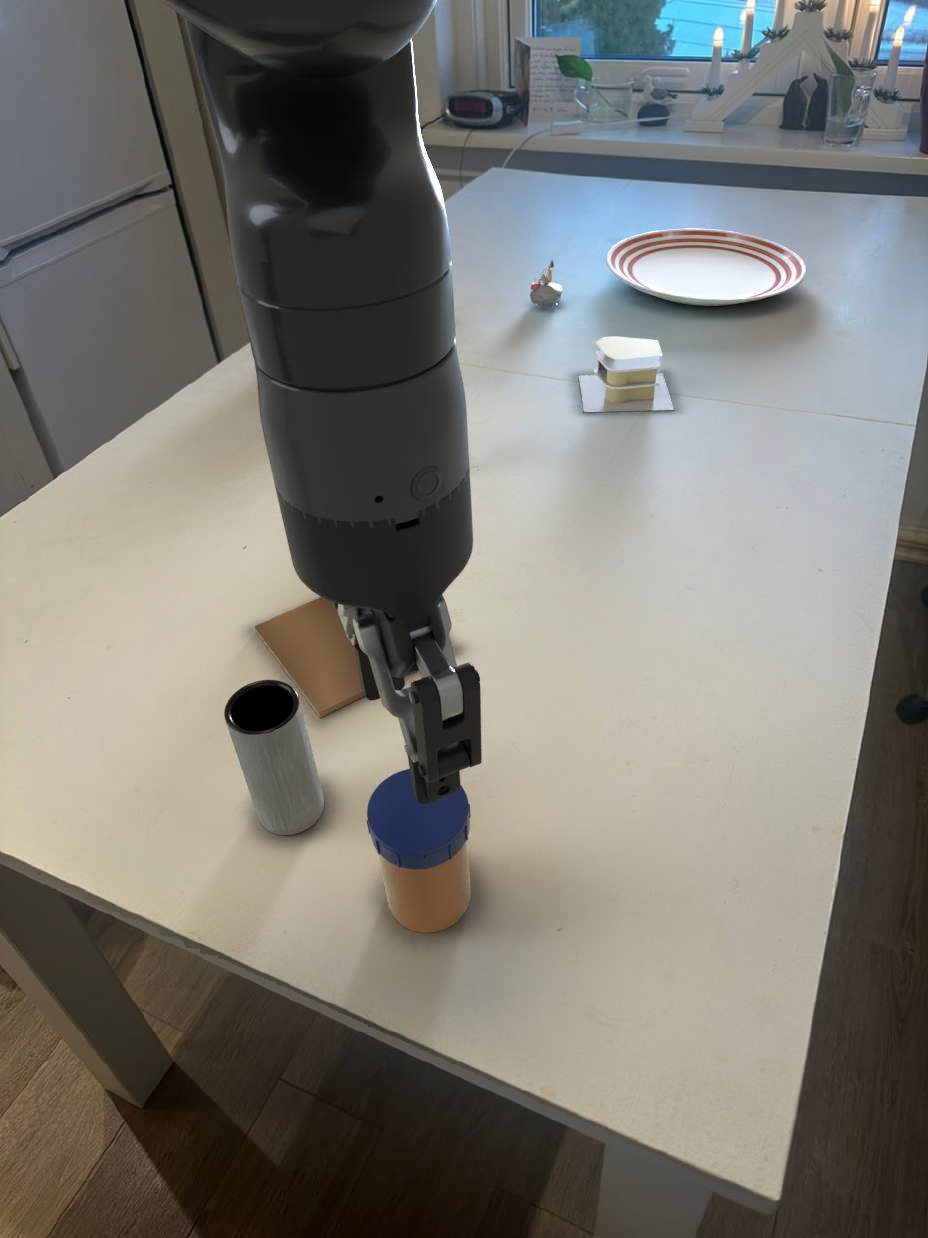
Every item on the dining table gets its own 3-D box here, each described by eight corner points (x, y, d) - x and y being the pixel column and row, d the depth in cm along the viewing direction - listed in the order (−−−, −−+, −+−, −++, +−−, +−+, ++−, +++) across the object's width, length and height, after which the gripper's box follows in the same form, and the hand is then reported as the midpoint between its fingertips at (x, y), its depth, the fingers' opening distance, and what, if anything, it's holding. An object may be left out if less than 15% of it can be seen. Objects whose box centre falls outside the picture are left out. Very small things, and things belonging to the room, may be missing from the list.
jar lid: (390, 885, 47) (387, 867, 45) (357, 807, 50) (353, 788, 49) (486, 846, 48) (485, 827, 47) (446, 773, 52) (444, 754, 51)
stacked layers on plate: (662, 373, 104) (667, 328, 101) (673, 410, 98) (679, 363, 94) (578, 375, 105) (580, 331, 101) (584, 412, 98) (586, 366, 94)
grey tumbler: (326, 830, 58) (300, 727, 51) (257, 841, 58) (222, 739, 51) (323, 776, 61) (298, 673, 54) (258, 787, 61) (224, 684, 54)
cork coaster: (320, 718, 65) (318, 713, 65) (255, 631, 73) (253, 625, 73) (453, 652, 70) (453, 646, 70) (379, 576, 78) (378, 571, 77)
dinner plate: (783, 247, 133) (788, 224, 131) (821, 321, 113) (827, 295, 111) (602, 249, 136) (603, 226, 134) (607, 321, 116) (608, 297, 114)
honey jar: (405, 947, 52) (390, 867, 46) (375, 876, 55) (359, 794, 50) (484, 912, 53) (480, 831, 47) (450, 846, 57) (443, 763, 51)
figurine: (563, 311, 119) (565, 266, 115) (531, 313, 119) (531, 268, 115) (559, 296, 123) (560, 252, 119) (528, 297, 123) (528, 254, 119)
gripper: (232, 401, 37) (299, 673, 48) (334, 595, 27) (389, 882, 38) (396, 361, 39) (424, 631, 50) (546, 529, 29) (541, 820, 40)
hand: (409, 739), depth 44 cm, fingers open, 7 cm apart
